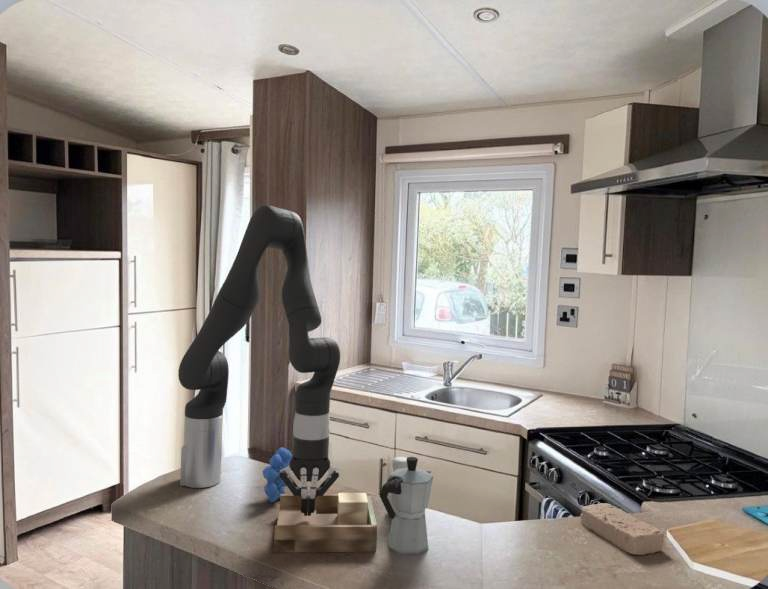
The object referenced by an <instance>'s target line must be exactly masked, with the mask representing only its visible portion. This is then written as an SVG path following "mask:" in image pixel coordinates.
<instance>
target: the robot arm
mask: <svg viewBox="0 0 768 589" xmlns="http://www.w3.org/2000/svg"><path fill="white" fill-rule="evenodd" d="M305 236H306V235H305V230H304V225H303V221H302V219H301V217H300V216H299V214H298V213H296V212H294V211H292V210H288V209H285V208H281V207H276V206H274V205H268V204H263V205H260V206H258V208H256V210H255V211H254V212H253V213H252V215H251V217H250V219H249V221H248V224H247V226H246V229H245V232H244V235H243V237H242V240H241V242H240V246H239V249H238V251H237V254H236V256H235V258H234V261H233V263H232V265H231V267H230V269H229V271H228V273H227V276H226V278H225V279H224V282H223V283H222V285H221V287H220V289H219V291H218V293H217V295H216V297H215V299H214V301H213V303H212V306H211V308H210V311H209V312H208V315H207V316H206V318H205V320H204V321H203V324H202V326H201V328H200V329H199V330H198V333H197V335H196V337H195V338H194V339H193V341H192V343H191V344H190V345H189V347H188V349H187V350H186V352H185V354H184V355H183V356H182V359H181V361H180V363H179V366H178V376H177V377H178V381H179V383H180V385H181V386H182V387H183V388H184V389H186V390H189V391H198V393H197V395H195V396H194V397H193V398H192V399H191V400H189V401H188V402H186V404H185V406H184V427H183V428H184V429H183V432H184V433H183V445H182V447H181V448H180V449H181V450H180V452H181V453H180V476H179V477H180V479H179V480H180V482H179V484H180V485H179V486H181V487H182V486H183V487H188V488H193V489H204V488H209V487H213V486H215V485H218V484H219V483H220V482H221V474H222V449H223V448H222V447H223V446H222V445H223V426H224V424H223V421H224V419H223V418H224V408H225V406H226V403H227V399H228V398H227V395H228V386H229V374H230V370H229V368H230V367H229V363H228V359H227V357H226V356H225V354H224V353H223V352H221V351H219V350H220V349H221V348H222V347H223V346H224V345H225V344H226V343H227V342H228V341H229V340H230V339H232V338H233V337H234V336H236V334H237V333H239V332H240V331H241V330H242V329H243V328H244V327H245V326H246V325H247V323H248V322H249V320H250V319H251V317H252V315H253V313H254V312H255V309H256V308H257V306H258V304H259V301H260V297H261V290H260V289H261V288H260V282H259V281H260V280H259V272H258V268H259V264H260V262H261V260H262V258H263V255H264V253H265V251H266V250H267V249H268V248H270V249H276V250H281V252H282V253H283V255H284V258H285V261H286V265H287V266H286V268H287V269H286V275H285V278H284V281H283V285H282V288H281V299H282V304H283V306H282V307H283V308H284V312H285V316H286V319H287V323H288V340H289V341H288V342H289V344H288V359H289V363H290V364H291V366H292V367H293V369H294V370H295V371H296V372H298V373H300V374H308V373H313V375H312V377H311V379H309V380H307V381H304V382H302V383H300V384H299V385H298V386H297V388H296V392H295V394H296V395H295V412H294V419H293V427H292V448H291V449H292V450H291V451H292V452H291V455H292V458H291V459H290V463H289V465H288V466H287V467H286V468H282V469H281V470H280V474H279V476H280V478H281V479H282V480H283V482H284V483H285V484H286V486H285V487H287V488H288V490H289V491H290V492H291V494H293V495H294V496H300V497H301V499H302V500H301V512H302V513H304V516H307V514H308V516H311V513H314V511H315V498H316V497H317V496H323V495H324V494H326V493H327V491H329V489H330V488H331V487H332V485H333V484H335V482H336V481H337V479H338V478H339V477H340V473H339V471H340V470H339V469H338V468H334V467H333V466H332V465H331V461H330V459H329V452H330V450H329V448H330V447H329V446H330V433H331V428H330V427H331V422H330V419H331V418H330V406H331V405H330V404H331V403H330V402H331V392H332V389H333V386H334V382H335V379H336V376H337V373H338V370H339V366H340V362H341V351H340V346H339V345H338V342H337V341H336V340H335V339H334V338H331V337H312V338H310V337H309V332H312V331H314V330H316V329H317V328H319V327H320V326H321V325H322V316H321V312H320V310H319V305H318V301H317V299H316V295H315V292H314V290H313V289H314V288H313V284H312V281H311V274H310V268H309V258H308V251H307V244H306V237H305ZM292 473H293V475H295V476H294V477H296V478H297V480H298V481H300V487H299V485H298V484H297V483H296V481H295V480H294V479H293V477H292ZM324 475H326V478H325V479H324V480H323V482H322V483H321V484H320V485H319V486H317V485H318V482H319V481H320V480H321V479H322V478H323V477H324ZM309 482H310V484H309V485H310V486H309V491H308V483H309ZM308 494H310V495H309V498H308Z"/></svg>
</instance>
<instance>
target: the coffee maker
mask: <svg viewBox="0 0 768 589" xmlns="http://www.w3.org/2000/svg"><path fill="white" fill-rule="evenodd" d="M406 458H407V466H408V468H403V469H396V470H395V471H394V470H393V471H392V472H390V474H389V477H388V478H387V480H386V482H385V483H384V484H383V485H382V487H381V490H380V492H379V495H378V496H379V498H380V500H381V502H382V504H383V506H384V509H385V510H386V513H387V515H388V517H389V518H390V519H391V520H392V521H391V525H390V530H389V535H388V538H387V539H388V543H387V544H388V549H390V550H392V551H394V552H396V553H398V554H399V555H408V556H410V555H411V556H419V555H420V554H423V553H424V552H425V553H426V551H429V544H428V542H429V541H428V533H427V531H428V530H427V521H426V519H427V518H426V509H427V508H428V506H429V502H430V501H429V500H430V496H431V490H432V484H433V480H434V476H433V475H432V473H433V471H432V470H431V471H430V470H424V469H419V468H417V466H418V460H419V458H417V457H414V456H407V457H406ZM389 493H392V504H393V506H394V507H395V510H393V508H392V506H391V504H390V502H389V500H388V494H389Z"/></svg>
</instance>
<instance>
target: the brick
mask: <svg viewBox="0 0 768 589" xmlns="http://www.w3.org/2000/svg"><path fill="white" fill-rule="evenodd" d="M579 522H580V524H582V525H583V526H584V527H586V528H587V529H589V530H591V531H593V532H594V533H595V534H597V535H598V536H600V537H602V538H603V539H605V540H606V541H608V542H610V543H611V544H612V545H614V546H616V547H618V549H620V550H622V551H624V552H626V553H629V554H631V555H637V556H641V555H642V556H643V555H644V556H645V555H646V554H654V553H656V552H661V551H663V546H664V545H663V544H664V539H665V536H664V535H665V534H664V532H663V531H662V530H660V528H657V527H656V526H653V525H651V524H649V523H647V522H645V521H642V520H638V518H636V517H635V516H633V515H631V514H629V513H628V512H626V511H625V510H623V509H621V508H618V507H617V506H614V505H612V504H611V503H605V502H604V503H603V502H601V503H599V502H598V503H597V504H595V503H593V504H589V505H585V506H582V507H581V514H580V521H579Z"/></svg>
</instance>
